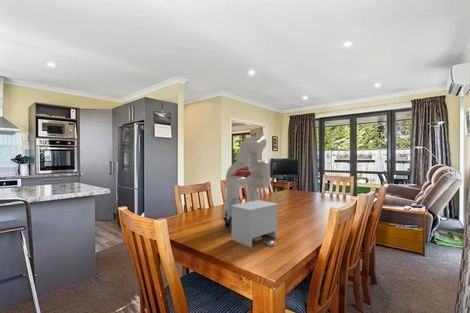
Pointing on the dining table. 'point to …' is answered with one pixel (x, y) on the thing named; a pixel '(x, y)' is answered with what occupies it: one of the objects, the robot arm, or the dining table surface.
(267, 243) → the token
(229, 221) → the blade tool
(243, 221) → the cabinet
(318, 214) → the dining table surface
